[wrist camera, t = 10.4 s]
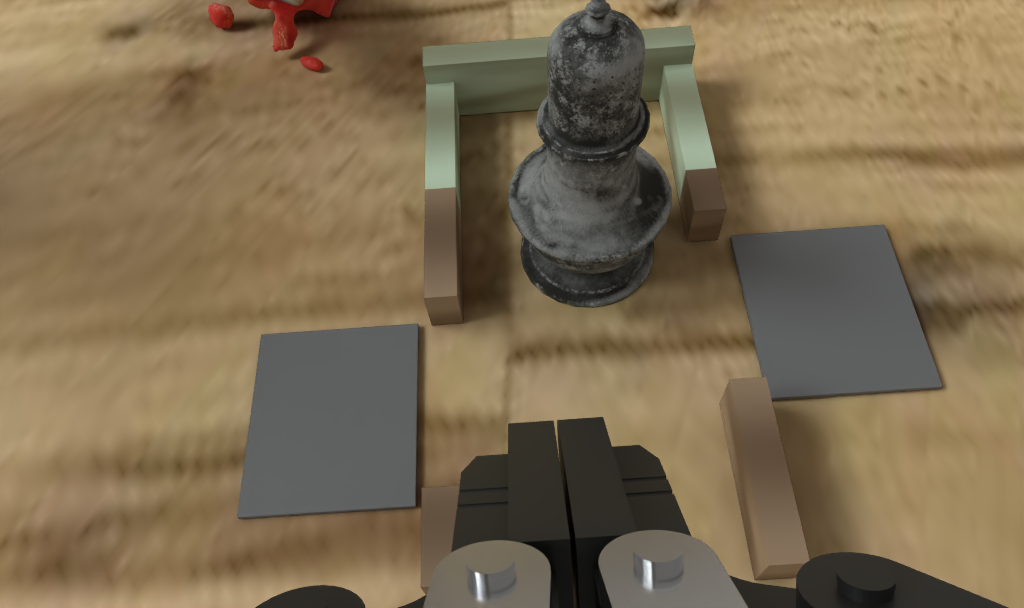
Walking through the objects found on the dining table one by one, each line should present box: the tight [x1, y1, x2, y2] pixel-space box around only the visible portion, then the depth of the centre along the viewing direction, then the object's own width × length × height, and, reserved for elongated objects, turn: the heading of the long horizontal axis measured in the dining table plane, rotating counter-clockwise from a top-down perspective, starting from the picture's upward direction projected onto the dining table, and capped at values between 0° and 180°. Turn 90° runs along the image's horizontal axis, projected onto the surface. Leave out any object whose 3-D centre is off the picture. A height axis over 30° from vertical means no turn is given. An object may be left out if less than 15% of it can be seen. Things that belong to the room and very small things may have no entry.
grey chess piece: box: [508, 0, 672, 307], centre depth 26 cm, size 6×6×12 cm
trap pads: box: [237, 225, 943, 519], centre depth 29 cm, size 10×24×1 cm, turn 93°
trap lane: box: [421, 26, 810, 595], centre depth 29 cm, size 22×11×3 cm, turn 3°
